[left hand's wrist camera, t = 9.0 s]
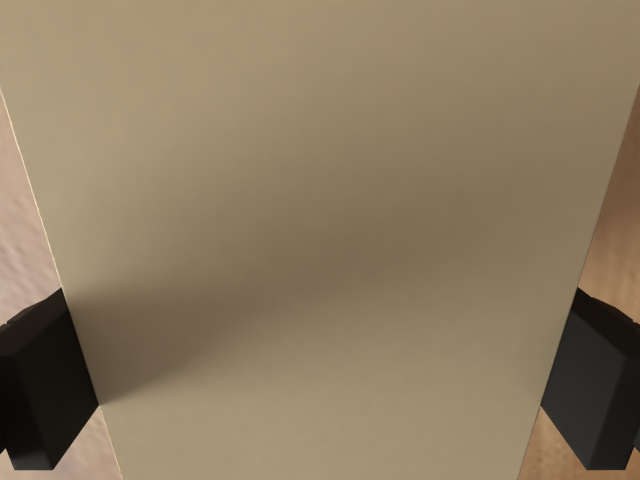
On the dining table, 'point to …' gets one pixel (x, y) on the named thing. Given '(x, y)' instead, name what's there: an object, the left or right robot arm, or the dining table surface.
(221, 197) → the cabinet
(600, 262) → the dining table surface
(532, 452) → the dining table surface
